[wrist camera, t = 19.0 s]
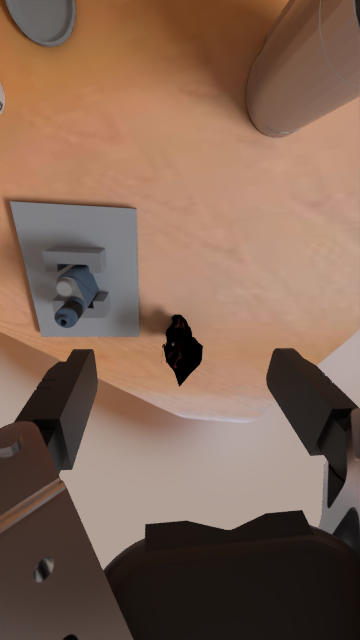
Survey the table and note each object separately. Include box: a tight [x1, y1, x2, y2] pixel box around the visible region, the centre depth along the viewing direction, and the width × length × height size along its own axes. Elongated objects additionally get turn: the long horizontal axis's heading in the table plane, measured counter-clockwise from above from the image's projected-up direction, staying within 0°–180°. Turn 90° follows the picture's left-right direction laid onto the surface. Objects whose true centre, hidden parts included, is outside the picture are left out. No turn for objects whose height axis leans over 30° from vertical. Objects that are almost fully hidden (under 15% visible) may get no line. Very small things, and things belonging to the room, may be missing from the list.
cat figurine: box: [161, 315, 203, 387], centre depth 36 cm, size 7×7×12 cm
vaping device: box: [54, 264, 99, 328], centre depth 30 cm, size 3×5×12 cm, turn 14°
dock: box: [10, 201, 140, 337], centre depth 34 cm, size 20×16×5 cm
